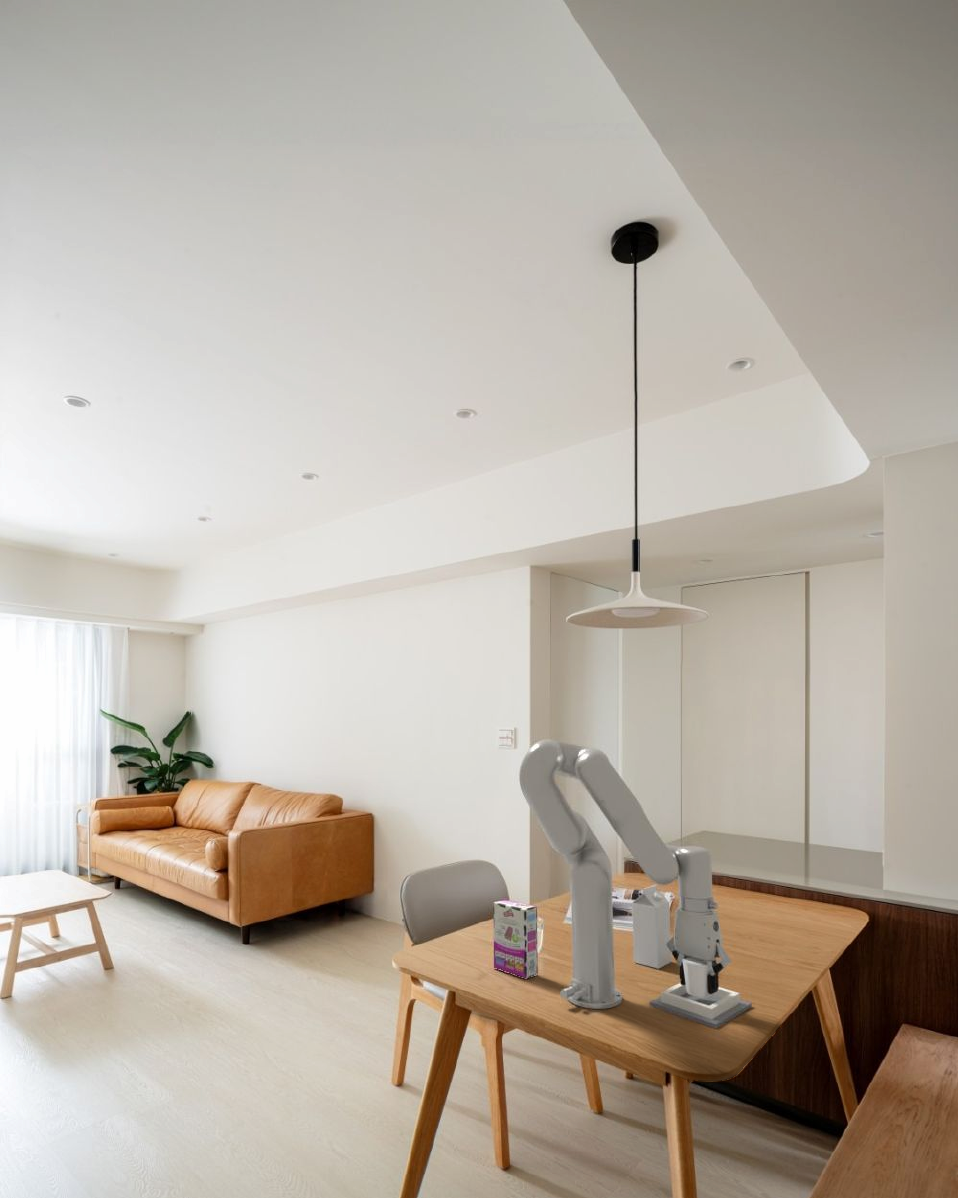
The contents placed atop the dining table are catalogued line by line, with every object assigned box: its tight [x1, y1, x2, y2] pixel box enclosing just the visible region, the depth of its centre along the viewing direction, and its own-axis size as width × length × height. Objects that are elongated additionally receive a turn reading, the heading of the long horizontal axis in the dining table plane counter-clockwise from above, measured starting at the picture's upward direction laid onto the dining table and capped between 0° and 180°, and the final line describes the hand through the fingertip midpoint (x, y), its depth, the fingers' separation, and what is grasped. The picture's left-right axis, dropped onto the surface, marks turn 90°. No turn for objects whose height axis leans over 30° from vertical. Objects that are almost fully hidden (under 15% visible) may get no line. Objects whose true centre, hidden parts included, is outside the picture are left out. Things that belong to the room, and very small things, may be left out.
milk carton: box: [631, 883, 672, 970], centre depth 189 cm, size 7×7×19 cm
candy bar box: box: [493, 899, 539, 979], centre depth 182 cm, size 11×5×16 cm, turn 46°
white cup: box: [682, 956, 713, 997], centre depth 161 cm, size 7×7×7 cm
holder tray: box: [649, 982, 753, 1029], centre depth 160 cm, size 16×16×3 cm
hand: (699, 987), depth 161 cm, fingers closed on white cup, 6 cm apart
